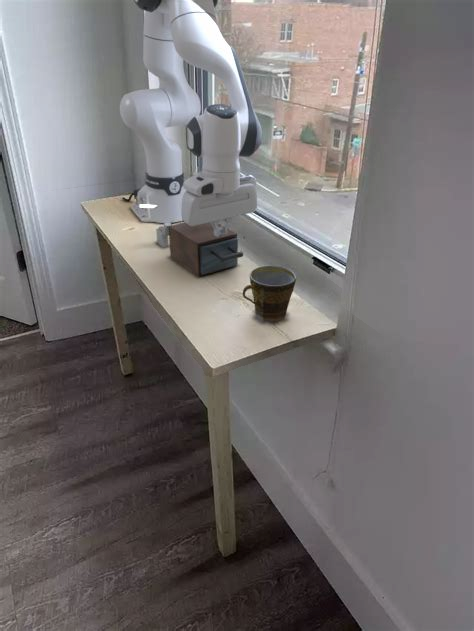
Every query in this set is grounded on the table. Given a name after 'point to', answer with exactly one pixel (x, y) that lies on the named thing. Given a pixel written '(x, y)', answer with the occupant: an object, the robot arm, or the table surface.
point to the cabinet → (193, 243)
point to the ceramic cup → (271, 292)
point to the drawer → (219, 255)
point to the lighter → (163, 234)
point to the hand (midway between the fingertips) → (220, 234)
